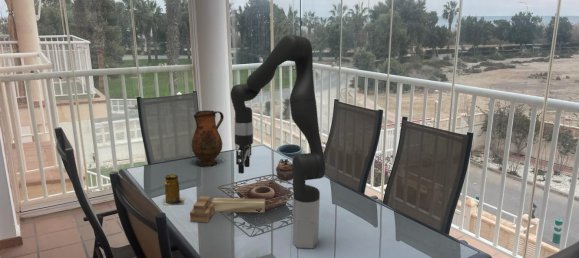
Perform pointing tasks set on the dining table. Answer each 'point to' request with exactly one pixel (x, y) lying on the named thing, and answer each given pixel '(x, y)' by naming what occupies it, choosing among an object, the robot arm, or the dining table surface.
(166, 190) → the condiment
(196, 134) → the pitcher
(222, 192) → the dining table surface
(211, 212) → the stair steps
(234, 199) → the batten
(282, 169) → the cupcake
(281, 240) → the dining table surface
